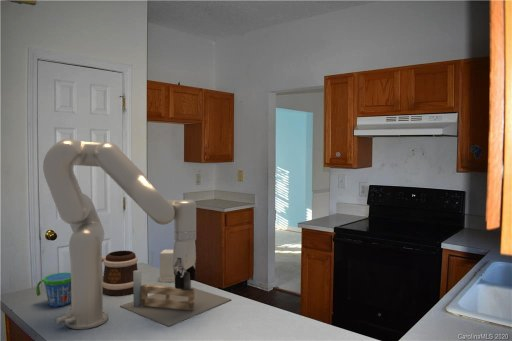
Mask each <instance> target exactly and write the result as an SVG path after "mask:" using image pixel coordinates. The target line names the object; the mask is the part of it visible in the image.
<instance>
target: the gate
mask: <svg viewBox="0 0 512 341" xmlns="http://www.w3.org/2000/svg"><path fill="white" fill-rule="evenodd" d="M183 277H184V289H176V288H175V286H166V285H165V286H163V285H153V284H152V285H151V284H142V286H141V305H143V306H153V307H163V308H174V309H184V310H194V309H195V289H190V272H184V275H183ZM148 294H151V295H154V294H162V295H166V299H157V298H148ZM170 295H173V296H184V297H188V301H179V300H170Z"/></svg>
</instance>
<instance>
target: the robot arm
mask: <svg viewBox="0 0 512 341" xmlns="http://www.w3.org/2000/svg"><path fill="white" fill-rule="evenodd" d="M74 166H80V167H81V166H82V167H83V166H84V167H98V168H99V167H100V168H101V169H102V171H104V173H105V174H107V175H108V176H109V177H110V178H111V179H112V180H113V182H115V183H116V185H117V186H119V187H120V189H122V191H124V193H126V194H127V195H128V196H129V198H131V199H132V200H133V201H134V202H135V203H136V204H137V205H138V206H139V208H141V210H142V211H143V212H144V213H145V214H146V215H147V216H149V218H150V219H152V221H154V222H155V223H156V224H158V225H162V226H163V225H164V226H165V225H168V224H170V223H171V222H172V221H173V230H174V231H173V237H174V243H173V249H172V250H173V270H174V277H175V282H174V287H175V288H176V289H184V277H183V275H184V272H185V270H186V272H190V280H191V281H195V280H196V263H197V261H196V260H197V251H196V250H197V249H196V240H197V203H196V201H195V200H193V199H178V200H175V199H166V198H165V197H164V196H163V194H161V193H160V192H159V191H158V190H157V188H156V187H154V186H153V185H152V183H151V182H150V181H149V179H148V177H147V175H145V173H144V172H143V171H142V170H141V169H140V168H139V167H138V166H137V165H135V163H134V162H133V161H132V160H131V159H130V158H129V157H128V156H127V155H126V154H125V153H124V152H123V151H122V150H121V149H120V147H119V146H118V145H117V144H115V143H114V142H97V141H96V142H95V141H94V142H93V141H84V140H75V139H71V138H67V139H61V140H59V141H57V142H56V143H54V144H53V145H52V146H51V147H50V148H49V150H48V151H47V152H46V154H45V155H44V158H43V164H42V172H43V175H44V179H45V181H46V184H47V186H48V189H49V191H50V194H51V197H52V199H53V202H54V204H55V207H56V208H57V212H58V215H59V217H60V218H61V220H62V221H63V222H64V223H66V224H68V225H69V226H70V229H71V230H72V234H71V236H70V238H69V242H68V250H69V252H68V253H69V260H70V261H69V262H70V273H71V302H70V303H71V304H70V305H71V309H69V310H67V313H66V314H65V315H62V316H58V317H56V318H55V323H56V324H57V325H59V324H62V323H64V325H66V327H68V328H69V329H74V330H87V329H92V328H96V327H98V326H100V325H103V324H105V323H106V322H107V321H108V319H109V315H108V313H107V312H105V311H104V310H103V309H104V307H103V306H104V303H103V301H104V300H103V299H104V295H103V294H104V292H103V285H102V275H103V262H102V256H103V255H102V252H103V251H102V244H103V241H104V238H105V230H104V228H103V225H102V222H101V219H100V217H99V215H98V212H97V210H96V208H95V205H94V203H93V201H92V199H91V198H90V196H88V195H87V194H85V193H83V191H82V189H81V186H80V183H79V182H78V179H77V176H76V175H75V172H74ZM179 267H180V268H179Z"/></svg>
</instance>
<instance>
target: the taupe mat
mask: <svg viewBox="0 0 512 341" xmlns="http://www.w3.org/2000/svg"><path fill="white" fill-rule="evenodd" d="M191 289H195V309H194V310H184V309H174V308H163V307H153V306H143V305H142V306H141V307H134V300H133V301H130V302H127V303H124V304H120V305H119V307H120V308H122V309H124V310H126V311H128V312H132V313H134V314H135V315H139V316H141V317H144V318H146V319H149V320H151V321H153V322H156V323H158V324H161V325H163V326H166V327H168V328H169V327H171V326H174V325H177V324H179V323H181V322H184V321H187V320H188V319H191V318H193V317H195V316H198V315H200V314H203V313H205V312H207V311H210V310H211V309H215V308H217V307H219V306H221V305H224V304H226V303H228V302H231V301H232V298H228V297H225V296H221V295H218V294H215V293H212V292H208V291H205V290H202V289H198V288H195V287H192V286H191ZM148 298H157V299H166V295H162V294H151V295H149V296H148ZM170 300H179V301H188V297H184V296H173V295H170Z"/></svg>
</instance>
